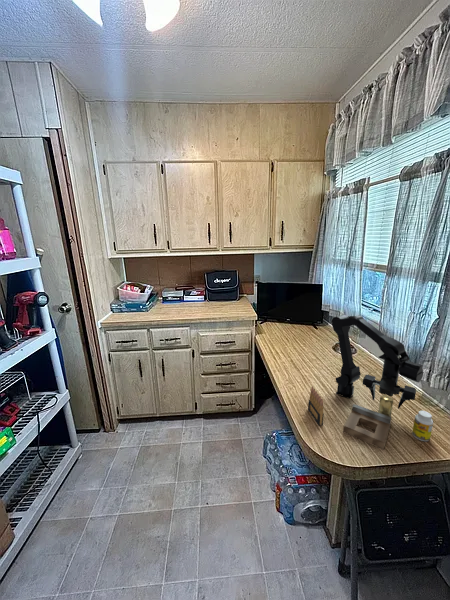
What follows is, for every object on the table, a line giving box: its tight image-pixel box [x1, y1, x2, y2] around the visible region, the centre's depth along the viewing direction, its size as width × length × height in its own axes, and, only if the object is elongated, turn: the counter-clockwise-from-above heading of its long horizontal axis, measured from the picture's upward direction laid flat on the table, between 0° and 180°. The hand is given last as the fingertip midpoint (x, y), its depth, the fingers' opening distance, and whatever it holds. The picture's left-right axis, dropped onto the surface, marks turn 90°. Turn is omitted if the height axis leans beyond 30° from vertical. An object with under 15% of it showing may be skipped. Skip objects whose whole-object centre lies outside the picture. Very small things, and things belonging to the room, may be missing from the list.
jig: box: [342, 403, 392, 450], centre depth 103 cm, size 14×14×5 cm
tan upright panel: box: [307, 386, 325, 426], centre depth 110 cm, size 11×2×12 cm, turn 6°
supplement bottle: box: [411, 410, 434, 442], centre depth 98 cm, size 6×6×10 cm
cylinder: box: [377, 394, 394, 418], centre depth 111 cm, size 5×5×8 cm
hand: (385, 403), depth 111 cm, fingers open, 9 cm apart
